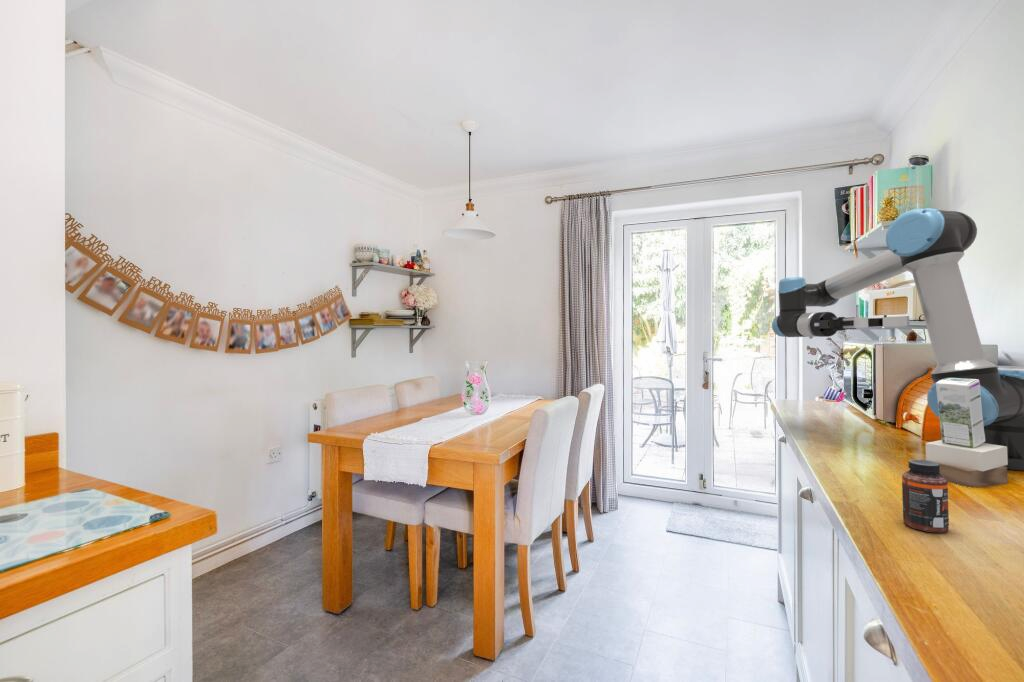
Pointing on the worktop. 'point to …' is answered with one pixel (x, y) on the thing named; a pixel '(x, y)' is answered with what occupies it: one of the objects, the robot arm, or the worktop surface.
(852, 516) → the worktop surface
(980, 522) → the worktop surface
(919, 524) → the supplement bottle
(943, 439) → the syrup box
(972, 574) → the worktop surface
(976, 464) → the tower top block
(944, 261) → the robot arm
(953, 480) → the tower base block
